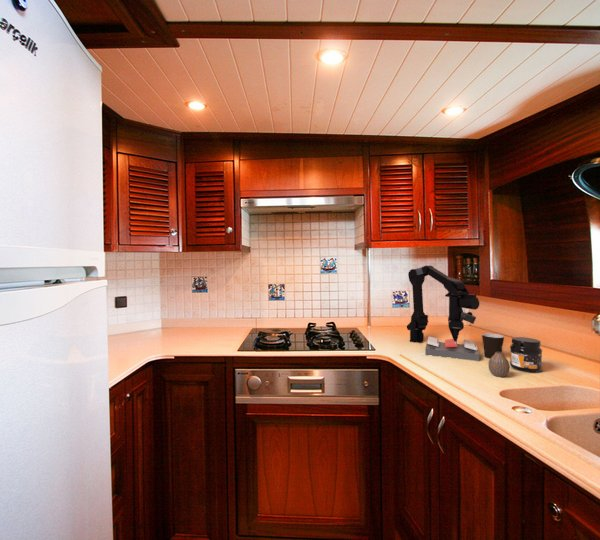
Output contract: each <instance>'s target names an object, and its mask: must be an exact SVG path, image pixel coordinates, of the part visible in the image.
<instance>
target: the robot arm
mask: <svg viewBox="0 0 600 540" xmlns="http://www.w3.org/2000/svg"><path fill="white" fill-rule="evenodd" d="M407 276H408V280H409V282H410V284H411V286H412V303H413V312H412V314H411V316H410V322H409V323H408V324H407V325H406V329H407V331H409V342H411V343H419V344H420V343H421V344H422V343H423V342H424V341H425V340H424V337H425V336H424V335H425V333H424V332H423V331H425V330H426V329H427V326H428V323H429V315H428V314H425V312H424V300H423V299H424V297H423V284H424V283H425V279H426V277H427V276H430V278H433V279H434V280H436V281H437V282H439V283H440V284H442V285H443V288H444V289H445V290H446V291H447V292H446V294H445V295H444V296H445V297H446V298H448V317H447V321H448V324H447V325H448V330H449V331H450V334H451V336H452V339H454V341H455V342H457V343H458V338H459V334H460V331H462V330H464V328H465V327H464V321H466V322H468V323H470V324H472V325H474V324H475V321H476V319H477V317H476V316H475V315H473V312H472V311H468V312H464V309H467V310H477V309H478V308H479V307H480V300H479V298H478V297H477V294H474V293H473V294H470V292H469V290H468V289H467V287H466V285H465V282H463V281H462V280H460V279H457V278H454V277H450V276H448V275H447V274H445V273H444V272H442V271H440V270H438V269H437V268H435V267H434V266H433V265H423V266H422V267H418V268H412V269H409V271H408V273H407Z"/></svg>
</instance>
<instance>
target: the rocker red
mask: <svg viewBox="0 0 600 540" xmlns="http://www.w3.org/2000/svg"><path fill="white" fill-rule="evenodd" d="M444 343H445V346H446V347H457V344H458V341H457V342H455V341H454V339H453V338H450V339H448V338H447V339H445V341H444Z"/></svg>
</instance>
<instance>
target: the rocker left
mask: <svg viewBox="0 0 600 540" xmlns="http://www.w3.org/2000/svg"><path fill="white" fill-rule="evenodd" d="M439 342H440V338H436V337H433V336H428V338H427V341H426V344H430V345H434V346H437V347H438V345H439Z"/></svg>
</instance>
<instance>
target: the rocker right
mask: <svg viewBox="0 0 600 540" xmlns="http://www.w3.org/2000/svg"><path fill="white" fill-rule="evenodd" d="M462 341H463V343H462V344H464V347H466V348H469V349H473V350H476V351H477V349H478V346H477V343H476V342H475V341H470V340H468V339H463V340H462Z"/></svg>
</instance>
